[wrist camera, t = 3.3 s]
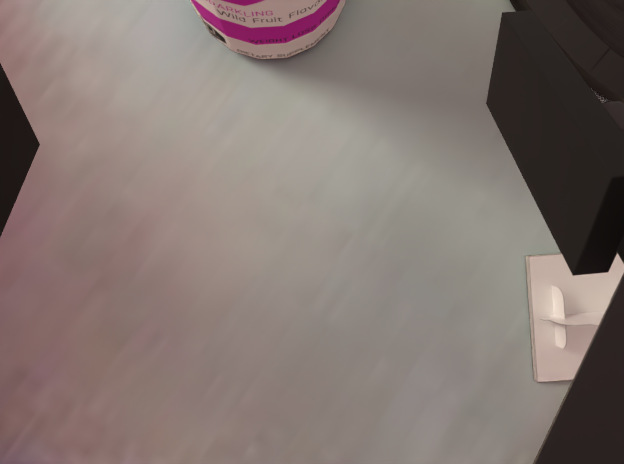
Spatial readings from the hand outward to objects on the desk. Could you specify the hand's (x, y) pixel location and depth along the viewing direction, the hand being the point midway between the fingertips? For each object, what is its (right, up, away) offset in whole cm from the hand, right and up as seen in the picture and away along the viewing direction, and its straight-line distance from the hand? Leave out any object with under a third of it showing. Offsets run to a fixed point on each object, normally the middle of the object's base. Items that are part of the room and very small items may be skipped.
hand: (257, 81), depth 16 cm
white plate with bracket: (+21, -8, +16) cm, 27 cm away
